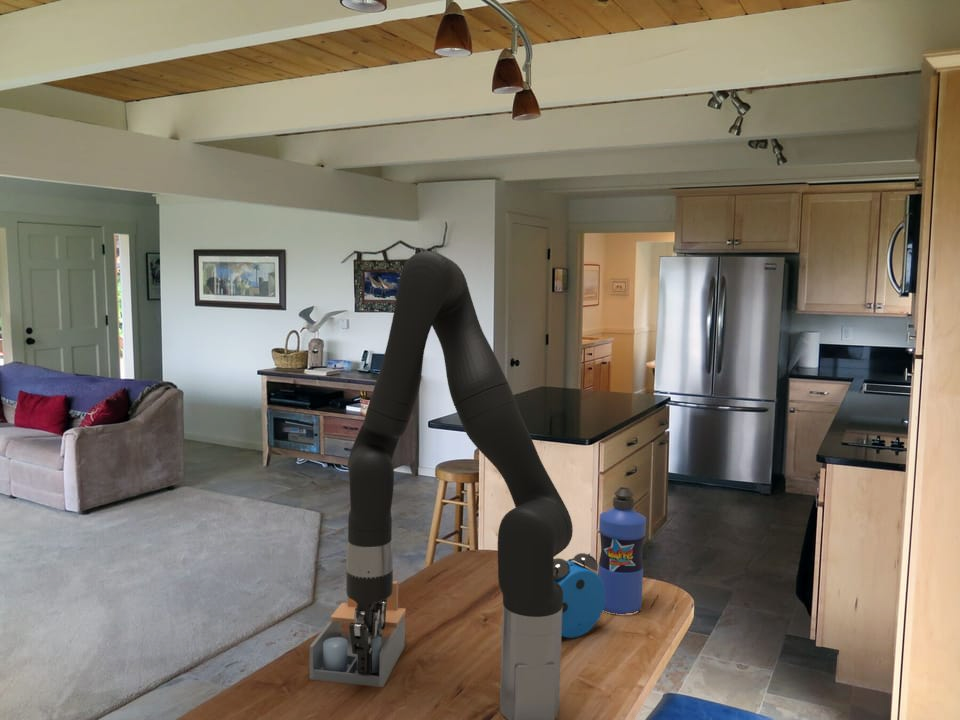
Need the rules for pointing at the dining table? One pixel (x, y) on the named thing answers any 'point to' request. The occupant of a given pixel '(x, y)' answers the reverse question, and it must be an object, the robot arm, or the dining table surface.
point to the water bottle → (622, 554)
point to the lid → (392, 611)
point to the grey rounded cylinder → (335, 654)
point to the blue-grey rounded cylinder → (375, 654)
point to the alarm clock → (579, 594)
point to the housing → (388, 657)
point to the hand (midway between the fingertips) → (369, 665)
